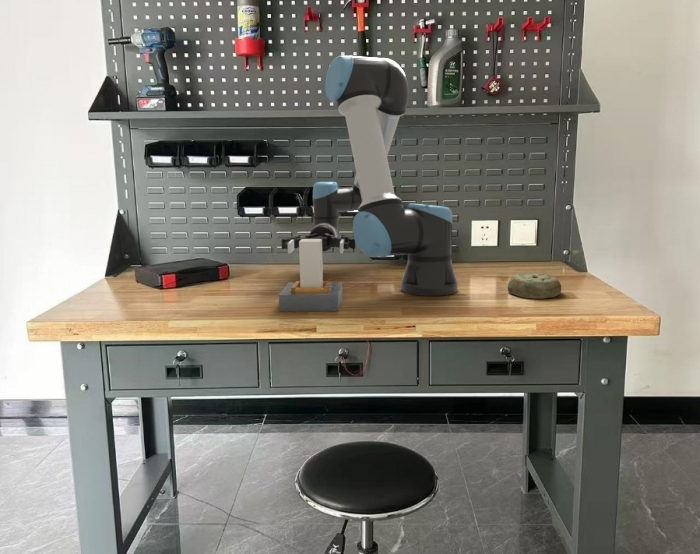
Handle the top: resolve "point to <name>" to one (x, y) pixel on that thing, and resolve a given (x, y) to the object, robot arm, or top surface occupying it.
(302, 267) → the column
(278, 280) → the top surface
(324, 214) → the robot arm
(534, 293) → the weight
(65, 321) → the top surface
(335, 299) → the jig plate
